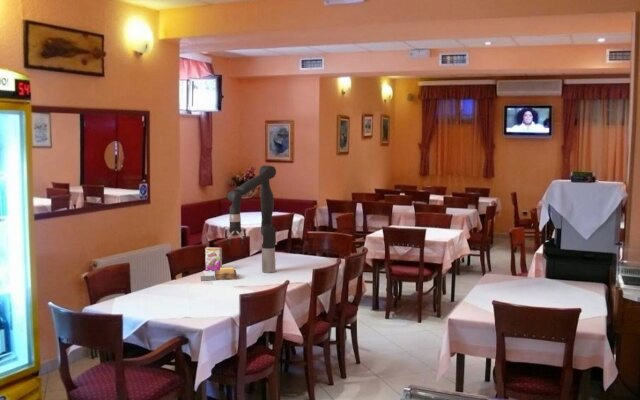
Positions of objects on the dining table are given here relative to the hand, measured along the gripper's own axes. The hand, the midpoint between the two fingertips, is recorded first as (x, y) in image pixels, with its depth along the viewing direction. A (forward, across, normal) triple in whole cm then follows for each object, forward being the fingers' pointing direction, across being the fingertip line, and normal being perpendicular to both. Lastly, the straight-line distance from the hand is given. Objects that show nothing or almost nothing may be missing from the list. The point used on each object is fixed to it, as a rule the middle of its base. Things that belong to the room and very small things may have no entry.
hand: (235, 244), depth 426 cm
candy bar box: (+22, +17, -22) cm, 36 cm away
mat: (+22, +19, +4) cm, 30 cm away
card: (+18, +6, +2) cm, 19 cm away
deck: (+22, +7, +3) cm, 24 cm away
